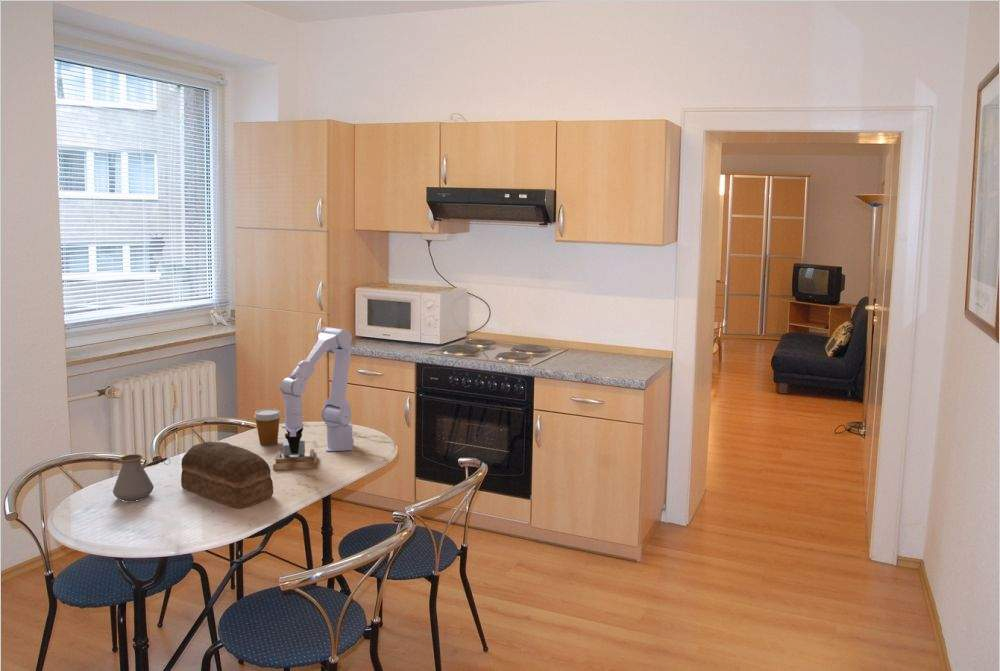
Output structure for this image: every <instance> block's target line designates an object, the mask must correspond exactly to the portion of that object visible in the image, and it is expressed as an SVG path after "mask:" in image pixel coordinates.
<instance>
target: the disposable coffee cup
mask: <svg viewBox="0 0 1000 671" xmlns="http://www.w3.org/2000/svg"><path fill="white" fill-rule="evenodd" d="M281 415H282V414H281V412H280V409H275V408H264V409H259V410H256V411H255V412H254V415H253V418H254V420H255V423H256V424H255V425H256V430H257V434H258V435H257V436H258V441H259V445H260V446H264V447H267V446H274V445H277V444H278V439H279V428H280V418H281Z"/></svg>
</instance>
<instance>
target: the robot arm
mask: <svg viewBox="0 0 1000 671" xmlns="http://www.w3.org/2000/svg"><path fill="white" fill-rule="evenodd" d="M317 338H318V339H317V341H316V343H315V344H314V346H313V348H312V349H311V351H310V353H309V354H308V356H307V357H306V358H305V359H304V360H301V361H298V363H297V365H296V367H295V368H294V369H293V371H292V372H291V374H289V376H288V377H286V378H284V379H283V380H281V382H280V386H279V390H280V392H281V393H282V398H283V399H284V400H283V401H284V420H285V421H284V422H285V424H282V425H281V429H285V431H286V432H287V433H285V434H284V437H285V439H286V441H288V443H289V446H290V450H291V453H292V454H297V453H298V450H299V442H300V441H301V439H302V436H303V433H302V432H303V431H304V423H303V405H302V404H303V401H302V400H303V398H302V395H303V393H305V390H306V385H307V382H308V380H309V379H310V377H311V376H312V375H313V373H314V372H315V371H316V370H315V365H316V364H317V363H318V362H319V360H320V359H321V358H323V356H324V355H325V354H326V352H327V351H329V350H332V352H333V353H334V363H333V369H332V380H331V387H330V388H331V389H330V396H329V397H328V398H327V399H326V400H325V401H324V404H323V408H322V410H321V413H320V414H321V419H322V420H323V421H324V425H326V444H325V445H326V446H325V451H326V452H341V451H342V452H343V451H344V452H345V451H353V450H354V445H353V444H354V443H355V442H354V441H355V439H354V438H353V436H354V435H353V423H350V422H351V420H352V411H351V409H352V408H351V407H352V406H351V403H350V402H349V400H348V399H347V398H346V396H347V388H348V380H349V373H350V372H349V371H350V364H351V363H350V362H351V357H352V355H351V354H352V347H351V346H352V340H353V336H352V334H351V333H350V331H349V330H348V329H347V328H335V327H329V326H325V327H323V328H322V329H321V330H320V332H319V333H318V335H317Z"/></svg>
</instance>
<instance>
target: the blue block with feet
mask: <svg viewBox="0 0 1000 671" xmlns="http://www.w3.org/2000/svg"><path fill="white" fill-rule="evenodd" d="M305 444H306V442H305V440H300V442H299V450H298V453H297V454H292V453H291V450H290V446H289V443H288V440H286V441H283V444H282V454H283V456H284V458H287V457H289V455H299V457H304V454H305V453H306V445H305Z"/></svg>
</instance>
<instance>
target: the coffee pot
mask: <svg viewBox="0 0 1000 671" xmlns="http://www.w3.org/2000/svg"><path fill="white" fill-rule="evenodd" d="M142 459H143V456H142V455H141V454H135V453H134V454H128V455H123V456H121V457H119V461H120V463H121V468H120V471H119V473H118V475H117V476H118V477H117V479H116V481H115V484H114V486H113V489H112V493H113V495H114V497H115V498H117V499H119V500H120V499H121V500H124V501H136V500H141V499H143V498H145V497H147V498H148V496H149V495H151V493H153V489H154V483H153V482H152V481H151V479H150V477H149V475H148V474H147V472H146V470H145V468H148V467H149V468H150V467H152V466H156V465H158V464H160V463H163V464H164V465H170V464H171V462H168V463H166V461H167V460H169V461H171V459H170V458H168V457H163V458H162V457H161V458H160V459H157V460H154V461H151V462H149V463H147V464H144V465H143V464H142V463H141V461H142ZM145 499H146V498H145ZM121 500H120V501H121ZM143 500H144V499H143ZM141 501H142V500H141ZM136 502H137V501H136Z"/></svg>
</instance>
